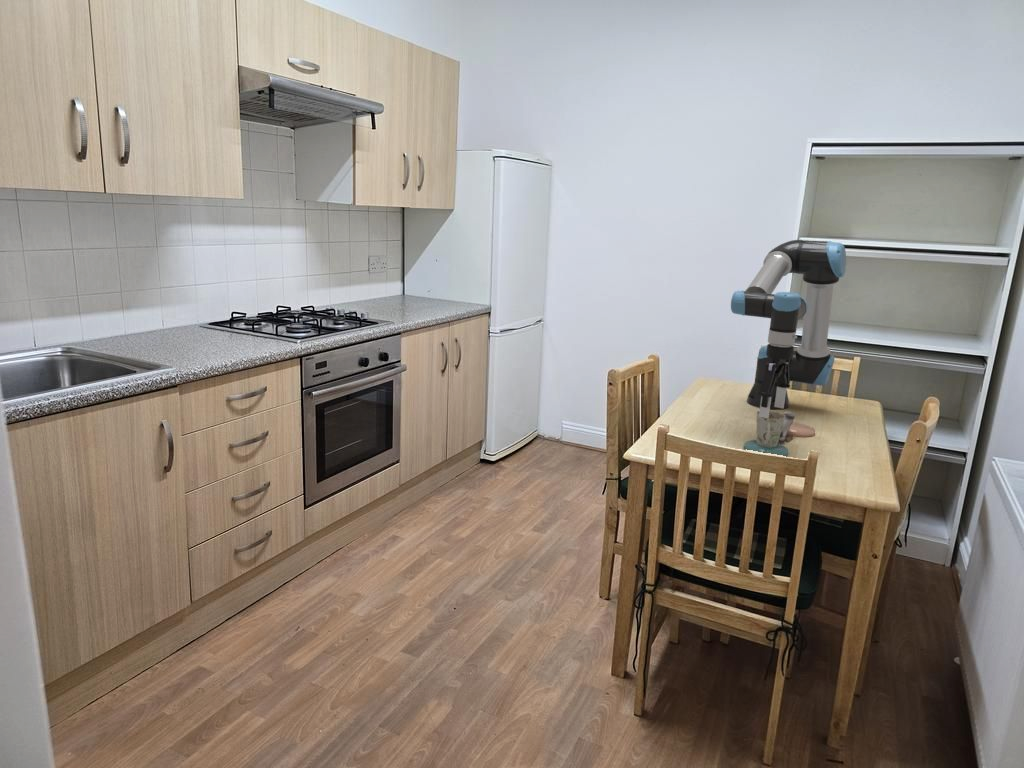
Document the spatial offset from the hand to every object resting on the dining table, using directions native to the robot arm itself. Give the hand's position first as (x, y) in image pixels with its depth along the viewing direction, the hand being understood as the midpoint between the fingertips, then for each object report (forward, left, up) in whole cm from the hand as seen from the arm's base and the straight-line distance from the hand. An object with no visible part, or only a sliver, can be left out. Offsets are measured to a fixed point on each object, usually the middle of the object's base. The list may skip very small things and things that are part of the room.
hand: (771, 412), depth 213 cm
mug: (0, 0, -11) cm, 11 cm away
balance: (0, +16, -12) cm, 20 cm away
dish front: (0, 0, -12) cm, 12 cm away
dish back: (0, +28, -12) cm, 30 cm away
